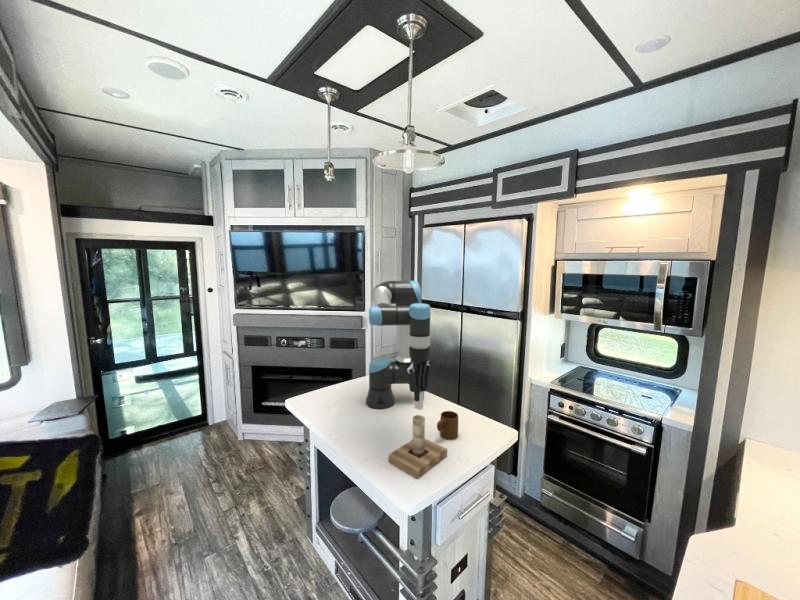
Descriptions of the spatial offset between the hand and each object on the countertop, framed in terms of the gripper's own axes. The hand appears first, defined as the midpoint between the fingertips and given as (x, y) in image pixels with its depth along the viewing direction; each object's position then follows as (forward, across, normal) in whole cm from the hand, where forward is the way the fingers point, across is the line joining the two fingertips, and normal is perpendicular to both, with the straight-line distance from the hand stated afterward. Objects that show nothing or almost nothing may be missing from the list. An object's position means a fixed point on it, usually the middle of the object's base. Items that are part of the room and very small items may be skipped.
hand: (418, 408), depth 122 cm
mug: (+21, -20, -1) cm, 29 cm away
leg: (+20, 0, 0) cm, 20 cm away
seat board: (+20, 0, 0) cm, 20 cm away
